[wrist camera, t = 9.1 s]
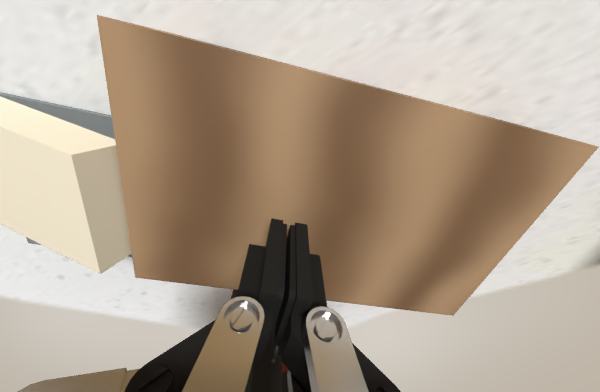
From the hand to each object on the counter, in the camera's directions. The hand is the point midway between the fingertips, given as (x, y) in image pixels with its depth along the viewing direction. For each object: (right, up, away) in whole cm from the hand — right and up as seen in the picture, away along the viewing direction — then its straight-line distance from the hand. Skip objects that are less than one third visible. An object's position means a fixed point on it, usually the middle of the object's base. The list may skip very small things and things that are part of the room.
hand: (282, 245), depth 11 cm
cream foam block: (-11, +4, +1) cm, 12 cm away
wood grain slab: (+3, +3, +4) cm, 6 cm away
